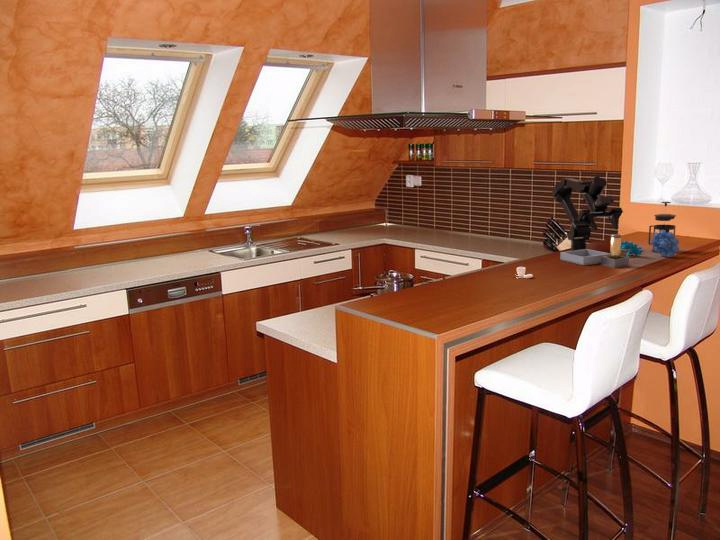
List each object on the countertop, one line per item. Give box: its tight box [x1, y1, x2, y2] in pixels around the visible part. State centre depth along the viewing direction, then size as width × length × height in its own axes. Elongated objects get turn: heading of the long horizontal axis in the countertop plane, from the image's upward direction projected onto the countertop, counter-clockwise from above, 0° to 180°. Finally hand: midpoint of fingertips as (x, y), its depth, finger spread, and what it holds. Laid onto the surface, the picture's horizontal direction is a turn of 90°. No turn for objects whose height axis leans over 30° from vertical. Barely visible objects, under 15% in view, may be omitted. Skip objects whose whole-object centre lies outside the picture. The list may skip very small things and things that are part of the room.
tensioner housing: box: [600, 255, 630, 269], centre depth 255 cm, size 8×8×4 cm
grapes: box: [650, 230, 680, 258], centre depth 267 cm, size 12×7×12 cm, turn 47°
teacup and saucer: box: [516, 266, 534, 279], centre depth 243 cm, size 9×8×4 cm
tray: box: [559, 248, 610, 266], centre depth 268 cm, size 15×15×4 cm
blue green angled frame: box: [620, 240, 644, 258], centre depth 272 cm, size 11×6×10 cm
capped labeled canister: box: [609, 233, 622, 259], centre depth 255 cm, size 4×4×13 cm
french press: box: [648, 201, 677, 254], centre depth 279 cm, size 12×9×23 cm
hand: (606, 229), depth 261 cm, fingers open, 9 cm apart
